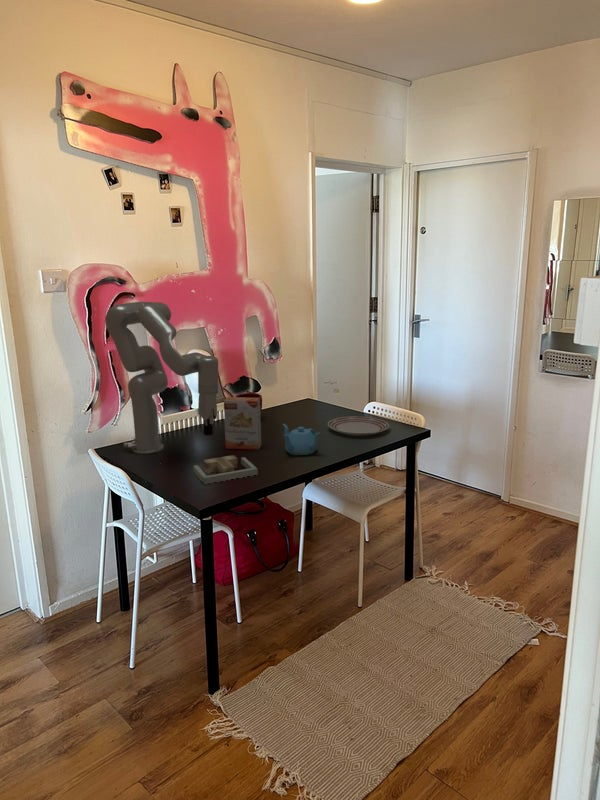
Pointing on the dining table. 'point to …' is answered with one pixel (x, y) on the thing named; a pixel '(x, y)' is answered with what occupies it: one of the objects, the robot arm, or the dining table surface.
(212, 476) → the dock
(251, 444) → the cracker box
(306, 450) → the teapot
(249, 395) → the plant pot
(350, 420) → the dinner plate
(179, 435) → the dining table surface
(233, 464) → the t block
